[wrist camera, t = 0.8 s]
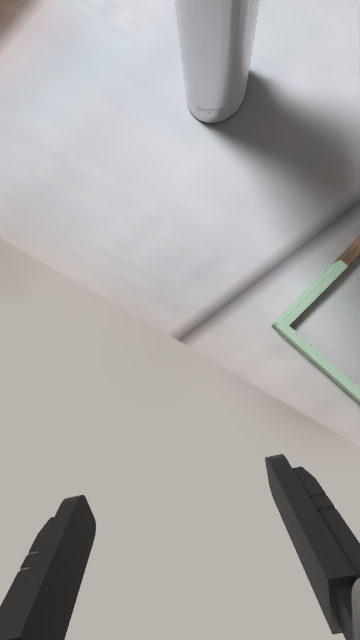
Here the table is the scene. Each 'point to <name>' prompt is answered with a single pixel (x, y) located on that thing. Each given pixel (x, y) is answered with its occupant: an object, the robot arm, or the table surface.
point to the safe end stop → (301, 343)
